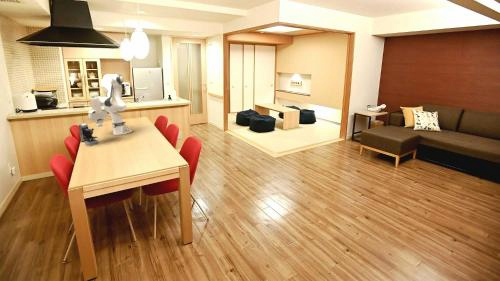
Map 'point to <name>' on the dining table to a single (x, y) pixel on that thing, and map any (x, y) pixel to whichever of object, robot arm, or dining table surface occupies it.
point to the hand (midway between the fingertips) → (99, 123)
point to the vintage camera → (85, 132)
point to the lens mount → (91, 142)
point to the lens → (99, 122)
